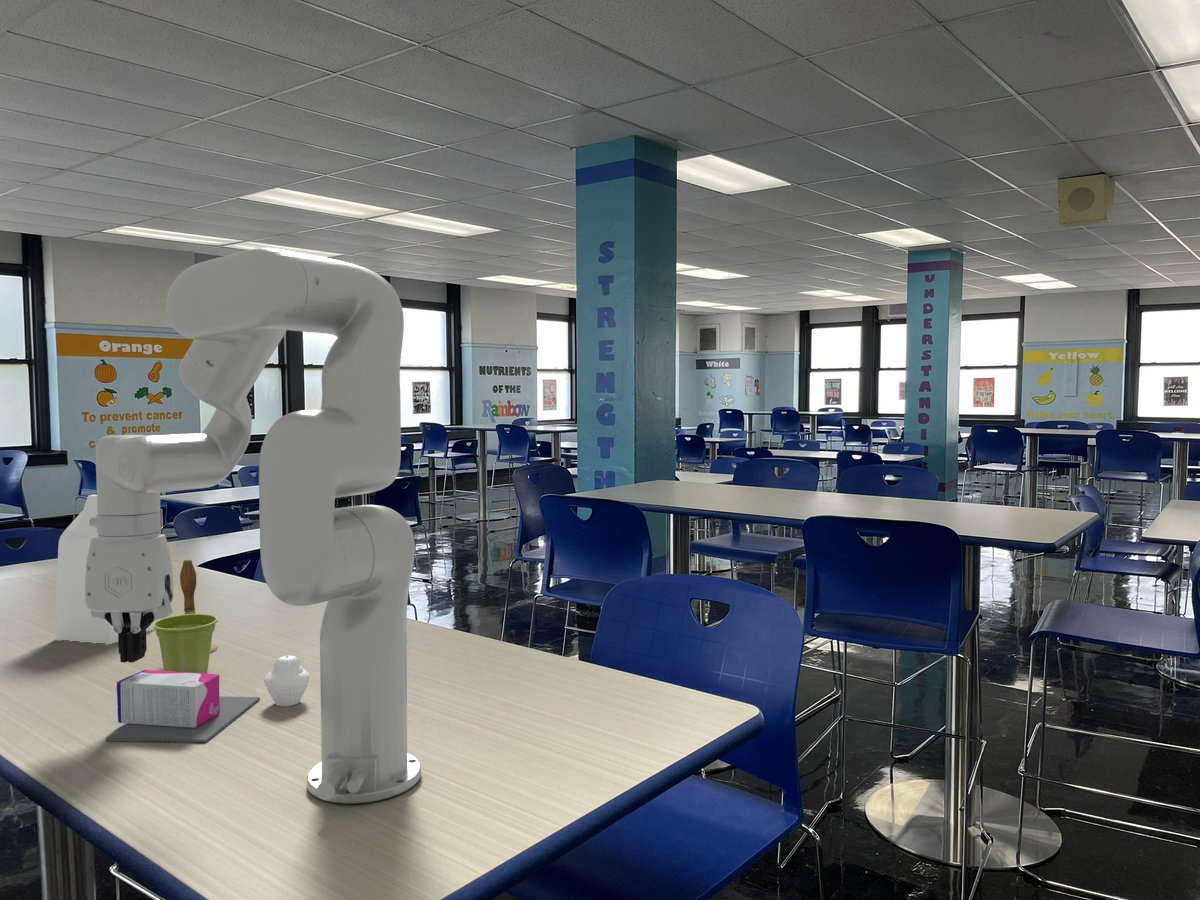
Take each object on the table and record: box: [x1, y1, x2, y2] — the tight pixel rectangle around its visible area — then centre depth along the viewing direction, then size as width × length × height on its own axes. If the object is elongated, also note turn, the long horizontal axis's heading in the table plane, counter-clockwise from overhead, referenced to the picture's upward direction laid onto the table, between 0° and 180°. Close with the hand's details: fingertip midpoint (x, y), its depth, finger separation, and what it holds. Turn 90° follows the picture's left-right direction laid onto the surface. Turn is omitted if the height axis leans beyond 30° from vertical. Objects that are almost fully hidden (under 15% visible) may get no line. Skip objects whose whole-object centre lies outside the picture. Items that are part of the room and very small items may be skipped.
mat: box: [105, 695, 261, 744], centre depth 118 cm, size 16×13×1 cm
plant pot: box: [153, 613, 219, 674], centre depth 137 cm, size 9×9×9 cm
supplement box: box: [116, 669, 220, 728], centre depth 117 cm, size 6×6×12 cm
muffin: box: [264, 654, 310, 707], centre depth 125 cm, size 6×6×7 cm
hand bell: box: [179, 559, 218, 654], centre depth 150 cm, size 8×8×16 cm
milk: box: [54, 494, 158, 645], centre depth 161 cm, size 12×12×26 cm
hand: (132, 659), depth 118 cm, fingers closed
